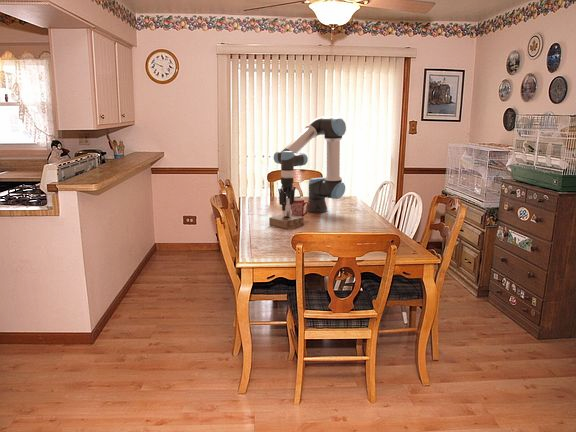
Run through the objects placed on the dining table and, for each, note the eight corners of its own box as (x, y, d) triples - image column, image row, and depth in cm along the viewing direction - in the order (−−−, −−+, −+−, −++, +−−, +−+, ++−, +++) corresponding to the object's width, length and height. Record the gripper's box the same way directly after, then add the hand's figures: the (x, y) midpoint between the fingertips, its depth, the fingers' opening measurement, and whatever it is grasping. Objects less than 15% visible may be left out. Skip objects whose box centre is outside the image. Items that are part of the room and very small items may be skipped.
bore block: (287, 221, 302) (287, 213, 301) (303, 225, 292) (303, 217, 291) (269, 225, 290) (269, 217, 289) (286, 229, 281) (286, 221, 280)
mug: (288, 220, 303) (289, 199, 300) (292, 217, 312) (292, 197, 309) (308, 221, 300) (308, 201, 297) (310, 218, 309) (311, 198, 306)
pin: (286, 220, 293) (286, 197, 290) (290, 221, 291) (290, 198, 288) (282, 221, 291) (283, 198, 287) (286, 221, 288) (287, 199, 285)
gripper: (291, 175, 293) (291, 212, 298) (273, 177, 281) (273, 216, 287) (300, 176, 288) (299, 214, 293) (282, 179, 276) (282, 218, 282)
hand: (286, 215), depth 290 cm, fingers closed on pin, 3 cm apart
